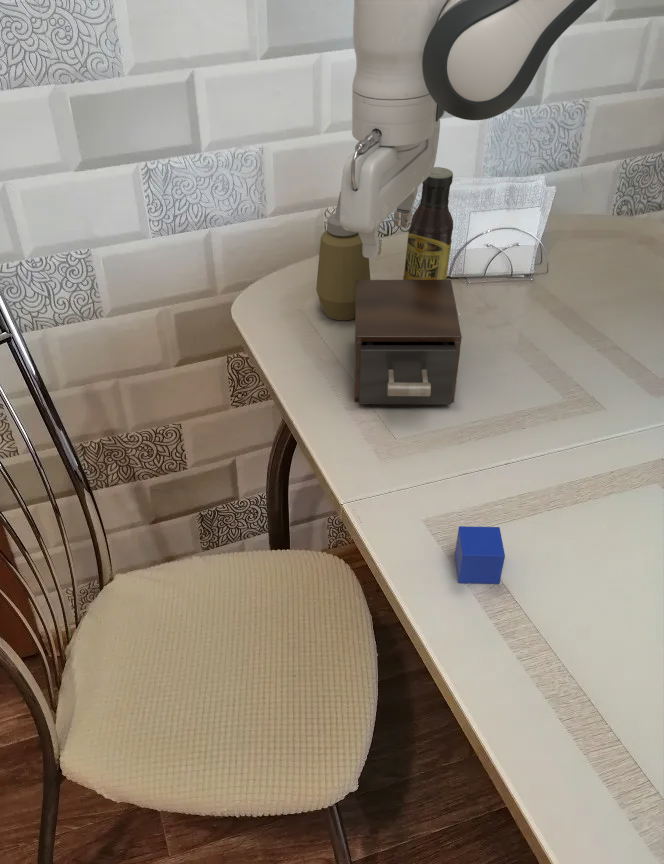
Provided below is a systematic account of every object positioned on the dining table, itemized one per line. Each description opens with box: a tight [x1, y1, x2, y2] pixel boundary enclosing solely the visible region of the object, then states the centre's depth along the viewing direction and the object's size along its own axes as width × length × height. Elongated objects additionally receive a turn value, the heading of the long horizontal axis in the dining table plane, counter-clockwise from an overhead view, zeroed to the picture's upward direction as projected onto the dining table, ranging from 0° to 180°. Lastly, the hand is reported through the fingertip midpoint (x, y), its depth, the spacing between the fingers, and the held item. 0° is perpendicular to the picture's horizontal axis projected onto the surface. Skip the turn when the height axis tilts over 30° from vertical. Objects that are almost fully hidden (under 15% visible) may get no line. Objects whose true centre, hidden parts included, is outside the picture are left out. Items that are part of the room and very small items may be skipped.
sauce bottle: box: [402, 166, 454, 280], centre depth 113 cm, size 7×6×20 cm
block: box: [454, 525, 506, 585], centre depth 78 cm, size 4×4×4 cm
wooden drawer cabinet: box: [353, 278, 463, 403], centre depth 104 cm, size 15×13×10 cm
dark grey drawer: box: [358, 342, 457, 405], centre depth 100 cm, size 18×11×8 cm, turn 177°
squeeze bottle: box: [315, 190, 371, 321], centre depth 113 cm, size 8×8×18 cm
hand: (387, 239), depth 95 cm, fingers open, 8 cm apart
